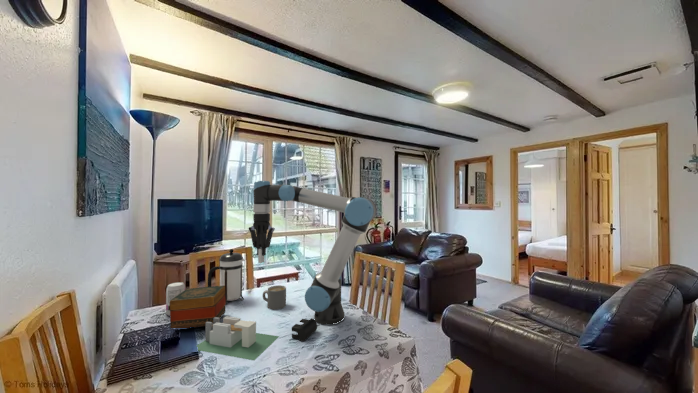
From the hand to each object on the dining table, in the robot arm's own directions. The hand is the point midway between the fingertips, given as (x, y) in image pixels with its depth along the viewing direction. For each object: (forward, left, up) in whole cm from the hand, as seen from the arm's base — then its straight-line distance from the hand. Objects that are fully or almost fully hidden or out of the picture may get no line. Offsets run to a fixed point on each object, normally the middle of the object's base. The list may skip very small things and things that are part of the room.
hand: (261, 262), depth 132 cm
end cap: (-26, +7, -30) cm, 40 cm away
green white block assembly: (-2, +20, -29) cm, 35 cm away
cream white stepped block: (-5, +20, -28) cm, 35 cm away
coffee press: (+34, -20, -30) cm, 50 cm away
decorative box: (+28, +8, -30) cm, 42 cm away
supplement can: (+49, +2, -30) cm, 58 cm away
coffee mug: (+5, -21, -30) cm, 37 cm away
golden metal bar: (+3, +20, -23) cm, 30 cm away
